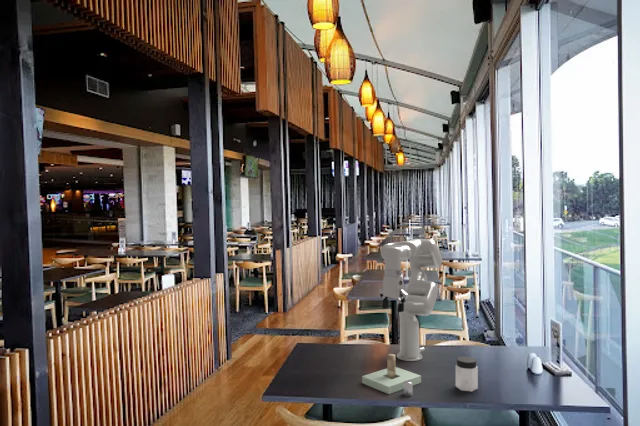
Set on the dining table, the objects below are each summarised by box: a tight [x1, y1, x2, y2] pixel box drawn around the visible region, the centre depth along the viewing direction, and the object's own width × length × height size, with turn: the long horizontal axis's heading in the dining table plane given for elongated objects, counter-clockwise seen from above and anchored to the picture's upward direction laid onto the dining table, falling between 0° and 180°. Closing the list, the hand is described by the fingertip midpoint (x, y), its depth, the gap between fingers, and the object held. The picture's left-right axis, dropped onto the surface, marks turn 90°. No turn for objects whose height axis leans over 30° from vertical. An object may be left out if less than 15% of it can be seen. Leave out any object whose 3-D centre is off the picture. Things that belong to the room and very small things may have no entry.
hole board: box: [361, 366, 422, 395], centre depth 209 cm, size 20×16×3 cm
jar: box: [454, 355, 479, 392], centre depth 202 cm, size 9×8×12 cm
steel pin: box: [403, 381, 414, 397], centre depth 196 cm, size 4×4×5 cm
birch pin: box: [386, 353, 397, 379], centre depth 209 cm, size 4×4×12 cm
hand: (393, 309), depth 224 cm, fingers open, 9 cm apart
